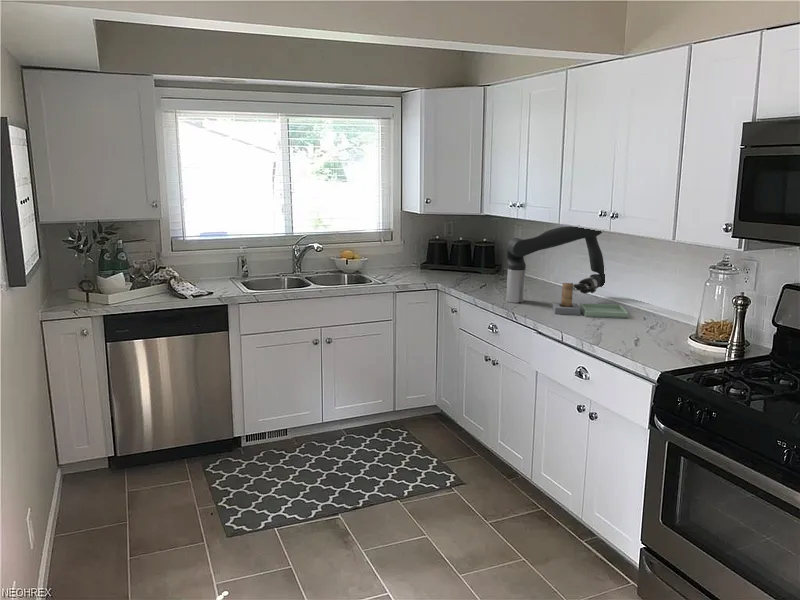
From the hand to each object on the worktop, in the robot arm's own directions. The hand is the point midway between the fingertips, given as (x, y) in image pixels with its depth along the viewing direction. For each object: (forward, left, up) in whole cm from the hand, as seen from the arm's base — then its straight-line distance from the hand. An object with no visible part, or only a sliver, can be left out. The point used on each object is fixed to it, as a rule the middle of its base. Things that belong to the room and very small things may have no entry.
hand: (575, 290), depth 332 cm
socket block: (+10, -6, -9) cm, 14 cm away
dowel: (+10, -6, -9) cm, 14 cm away
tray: (+10, +12, -9) cm, 18 cm away
